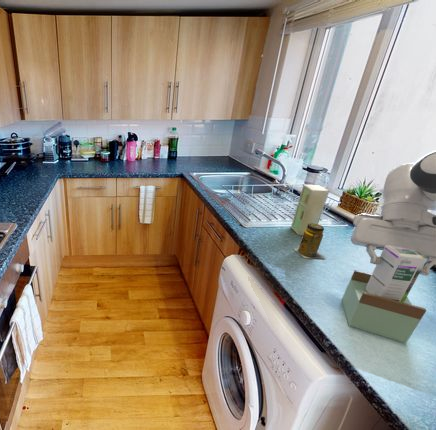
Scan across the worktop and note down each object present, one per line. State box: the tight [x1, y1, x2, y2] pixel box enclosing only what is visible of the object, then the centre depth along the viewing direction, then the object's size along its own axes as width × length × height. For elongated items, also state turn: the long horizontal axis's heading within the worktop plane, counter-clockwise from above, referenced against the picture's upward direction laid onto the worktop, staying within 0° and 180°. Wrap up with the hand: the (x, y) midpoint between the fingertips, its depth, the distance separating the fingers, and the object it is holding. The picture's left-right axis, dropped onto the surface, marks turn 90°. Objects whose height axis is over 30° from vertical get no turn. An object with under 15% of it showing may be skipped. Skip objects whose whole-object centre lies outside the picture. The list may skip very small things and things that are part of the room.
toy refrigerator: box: [290, 184, 330, 236], centre depth 124 cm, size 8×7×21 cm
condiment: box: [293, 223, 326, 259], centre depth 109 cm, size 7×8×12 cm
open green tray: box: [341, 269, 427, 344], centre depth 78 cm, size 12×12×11 cm
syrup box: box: [366, 245, 427, 303], centre depth 74 cm, size 6×6×14 cm
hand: (398, 268), depth 73 cm, fingers open, 8 cm apart
